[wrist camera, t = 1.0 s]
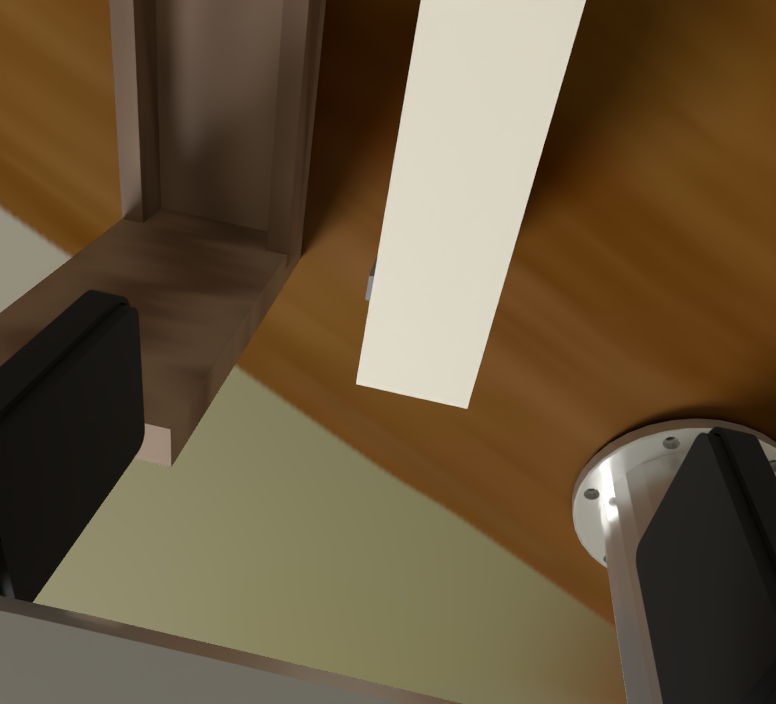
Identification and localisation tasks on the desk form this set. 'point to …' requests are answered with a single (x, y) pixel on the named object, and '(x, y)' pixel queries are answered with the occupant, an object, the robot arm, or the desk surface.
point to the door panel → (460, 187)
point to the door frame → (196, 194)
